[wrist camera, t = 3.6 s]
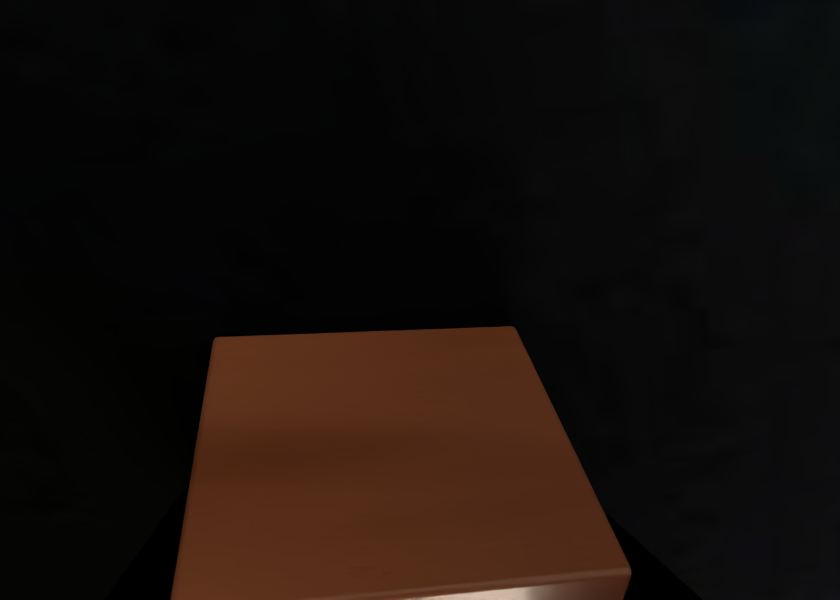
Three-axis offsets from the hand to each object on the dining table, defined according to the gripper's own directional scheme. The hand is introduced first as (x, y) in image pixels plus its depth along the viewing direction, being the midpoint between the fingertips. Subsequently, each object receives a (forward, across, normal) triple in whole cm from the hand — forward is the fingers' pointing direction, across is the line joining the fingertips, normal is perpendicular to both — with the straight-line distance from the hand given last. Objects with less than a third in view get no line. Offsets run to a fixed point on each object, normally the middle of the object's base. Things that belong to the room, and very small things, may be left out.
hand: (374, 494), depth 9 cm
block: (+1, 0, 0) cm, 1 cm away
